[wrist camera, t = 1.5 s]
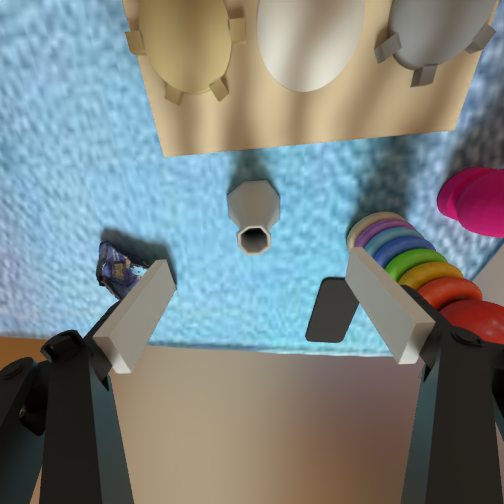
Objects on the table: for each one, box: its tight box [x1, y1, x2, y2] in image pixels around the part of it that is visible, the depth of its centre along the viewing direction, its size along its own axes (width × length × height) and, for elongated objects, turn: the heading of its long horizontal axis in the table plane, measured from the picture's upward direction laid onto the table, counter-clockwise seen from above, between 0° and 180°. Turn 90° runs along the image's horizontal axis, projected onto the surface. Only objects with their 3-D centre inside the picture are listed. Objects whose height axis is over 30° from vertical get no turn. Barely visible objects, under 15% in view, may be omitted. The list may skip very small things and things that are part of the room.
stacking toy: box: [347, 212, 504, 344], centre depth 21 cm, size 8×8×19 cm
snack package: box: [96, 241, 177, 300], centre depth 31 cm, size 12×6×12 cm
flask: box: [227, 180, 280, 255], centre depth 23 cm, size 7×7×10 cm
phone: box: [305, 278, 359, 343], centre depth 36 cm, size 7×1×15 cm
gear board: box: [122, 0, 499, 157], centre depth 18 cm, size 31×18×3 cm, turn 95°
